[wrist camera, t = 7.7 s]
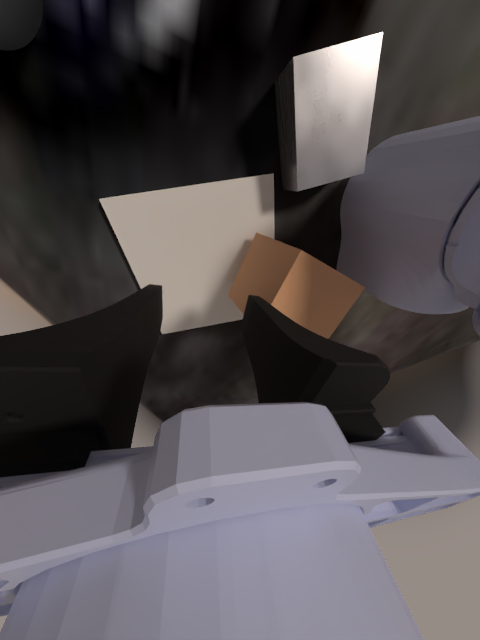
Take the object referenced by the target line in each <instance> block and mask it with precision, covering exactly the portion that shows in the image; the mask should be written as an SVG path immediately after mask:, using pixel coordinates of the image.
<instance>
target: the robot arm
mask: <svg viewBox="0 0 480 640" xmlns="http://www.w3.org/2000/svg"><path fill="white" fill-rule="evenodd" d="M340 222H341V230H342V231H341V245H340V251H339V256H338V261H337V269H336V270H337V271H338V272H340V273H341V274H343V275H345V276H347V277H348V278H350V279H352V280H353V281H355V282H357V283H358V284H360V285H362V286H364V287H365V289H364V290H365V291H367V292H368V293H370V294H371V295H373V296H374V297H375V298H377V299H379V300H380V301H382V302H384V303H386V304H389V305H391V306H394V307H397V308H400V309H404V310H407V311H412V312H417V313H424V314H450V313H456V312H460V311H462V310H465V309H467V308H468V307H472V308H474V309H475V311H474V313H473V319H472V323H473V326H474V329H475V331H476V332H477V334H478V335H479V337H480V116H478V117H473V118H469V119H465V120H460V121H456V122H452V123H447V124H443V125H438V126H434V127H430V128H425V129H421V130H417V131H412V132H408V133H404V134H400V135H396V136H393V137H391V138H389V139H387V140H385V141H383V142H382V143H380V144H379V145H378V146H376V147H375V148H374V149H372V150H371V151H370V152H369V153H368V154H367V155H366V162H365V169H364V173H363V174H360V175H356V176H352V177H350V179H349V181H348V183H347V186H346V188H345V191H344V194H343V198H342V201H341V208H340ZM162 319H163V302H162V285H153V284H149V285H147V286H145V287H144V288H142V289H140V290H139V291H137V292H135V293H134V294H132V295H130V296H129V297H127V298H125V299H123V300H121V301H119V302H117V303H115V304H113V305H111V306H109V307H107V308H105V309H102V310H100V311H97V312H95V313H92V314H89V315H87V316H83V317H80V318H77V319H74V320H71V321H67V322H64V323H60V324H57V325H53V326H49V327H44V328H40V329H36V330H31V331H26V332H21V333H16V334H10V335H4V336H0V616H5V615H8V616H7V618H6V620H5V623H4V625H3V627H2V629H1V632H0V640H424V639H423V637H422V635H421V633H420V631H419V628H418V626H417V624H416V622H415V620H414V618H413V616H412V614H411V612H410V610H409V608H408V606H407V604H406V602H405V600H404V598H403V595H402V593H401V591H400V589H399V587H398V585H397V583H396V581H395V579H394V577H393V575H392V573H391V571H390V569H389V567H388V565H387V562H386V561H385V558H384V556H383V554H382V552H381V550H380V548H379V546H378V544H377V542H376V540H375V538H374V536H373V534H372V532H371V530H370V528H372V527H376V526H380V525H383V524H387V523H391V522H394V521H398V520H402V519H405V518H409V517H413V516H417V515H421V514H425V513H429V512H433V511H437V510H442V509H445V508H448V507H451V506H454V505H456V504H459V503H461V502H464V501H467V500H470V499H472V498H475V497H477V496H480V461H479V460H478V459H477V458H476V457H475V456H474V455H473V454H472V453H471V452H470V451H469V450H468V449H467V448H466V447H465V446H464V445H463V444H462V443H461V442H460V441H459V440H458V439H457V438H456V437H455V436H454V435H453V434H452V433H451V432H450V431H449V430H448V429H447V428H446V427H445V426H444V425H443V424H442V423H441V422H440V421H439V420H438V419H437V418H436V417H435V416H434V415H419V416H412V417H410V418H407V419H406V420H404V421H403V422H402V423H401V424H400V425H399V427H389V428H382V426H381V425H380V424H379V422H378V421H377V420H376V418H375V417H374V416H373V414H372V413H374V412H375V408H374V407H373V405H372V404H371V403H370V402H371V401H372V400H373V399H374V397H376V395H378V393H380V391H381V390H382V389H383V388H384V387H385V386H386V385H387V383H388V381H389V379H390V370H389V368H388V367H387V366H386V365H385V364H384V363H383V362H382V361H381V360H380V359H379V358H378V357H377V356H376V355H373V354H370V353H367V352H363V351H360V350H357V349H353V348H350V347H347V346H345V345H342V344H339V343H337V342H334V341H332V340H329V339H327V338H325V337H322V336H320V335H318V334H316V333H314V332H312V331H310V330H308V329H306V328H305V327H303V326H301V325H299V324H298V323H296V322H294V321H293V320H291V319H290V318H288V317H287V316H285V315H284V314H283V313H281V312H280V311H279V310H277V309H276V308H275V307H273V306H272V305H271V304H269V303H268V302H267V301H266V300H264V299H263V298H261V297H260V296H254V295H248V299H247V303H246V307H245V311H244V315H243V319H242V331H243V337H244V341H245V344H246V348H247V351H248V354H249V358H250V361H251V364H252V368H253V372H254V376H255V382H256V387H257V394H258V400H259V404H231V405H207V406H202V407H196V408H191V409H185V410H183V411H181V412H180V413H178V414H176V415H174V416H172V417H171V418H169V419H167V420H166V421H164V422H163V423H162V424H161V426H160V428H159V430H158V432H157V434H156V437H155V441H154V446H152V447H140V448H131V443H132V438H133V432H134V427H135V422H136V417H137V412H138V407H139V403H140V398H141V393H142V389H143V384H144V380H145V376H146V372H147V368H148V365H149V362H150V359H151V357H152V354H153V351H154V348H155V345H156V342H157V340H158V337H159V334H160V330H161V325H162Z"/></svg>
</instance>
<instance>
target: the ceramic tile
mask: <svg viewBox="0 0 480 640" xmlns="http://www.w3.org/2000/svg"><path fill="white" fill-rule="evenodd" d="M99 200H100V202H101V204H102V207H103V209H104V211H105V213H106V215H107V217H108V219H109V222H110V224H111V226H112V228H113V230H114V232H115V234H116V236H117V239H118V241H119V243H120V245H121V247H122V249H123V251H124V254H125V256H126V258H127V260H128V262H129V264H130V266H131V269H132V271H133V273H134V275H135V277H136V279H137V281H138V284H139V286H140V288H141V289H142V288H144V287H145V286H147V285H149V284H153V285H162V302H163V319H162V325H161V330H160V331H161V333H162V334H167V333H172V332H177V331H183V330H188V329H193V328H199V327H204V326H210V325H215V324H220V323H226V322H231V321H236V320H242V319H243V315H244V314H243V313H242V312H241V310H240V309H239V308H238V307H237V306H236V304H235V303H234V302H233V301H232V299H231V298H230V297H229V296H228V294H229V291H230V289H231V287H232V285H233V283H234V281H235V278H236V276H237V274H238V272H239V270H240V267H241V265H242V263H243V261H244V259H245V256H246V254H247V252H248V250H249V248H250V245H251V243H252V241H253V239H254V237H255V234H256V232H257V233H259V234H262V235H264V236H267V237H270V238H272V239H274V173H273V174H265V175H258V176H252V177H245V178H238V179H231V180H224V181H217V182H210V183H204V184H197V185H190V186H183V187H176V188H169V189H163V190H156V191H149V192H142V193H135V194H128V195H121V196H115V197H108V198H101V199H99Z"/></svg>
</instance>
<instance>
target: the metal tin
mask: <svg viewBox="0 0 480 640" xmlns="http://www.w3.org/2000/svg"><path fill="white" fill-rule="evenodd" d="M382 37H383V32H380V33H377V34H373V35H370V36H366V37H363V38H359V39H356V40H352V41H348V42H345V43H341V44H338V45H334V46H331V47H327V48H324V49H320V50H317V51H313V52H309V53H306V54H302V55H299V56H295V57H293V58H292V60H291V61H290V62H289V64H288V65H287V66H286V68H285V69H284V70H283V72H282V73H281V75H280V76H279V77H278V79H277V80H276V81H275V96H276V109H277V123H278V137H279V151H280V164H281V178H282V189H283V190H290V191H297V192H298V191H302V190H305V189H309V188H313V187H316V186H320V185H323V184H327V183H331V182H334V181H338V180H342V179H345V178H349V177H352V176H356V175H360V174H363V173H364V169H365V162H366V154H367V147H368V140H369V132H370V125H371V118H372V110H373V103H374V96H375V88H376V81H377V74H378V66H379V59H380V51H381V44H382Z"/></svg>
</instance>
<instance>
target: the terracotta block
mask: <svg viewBox="0 0 480 640" xmlns="http://www.w3.org/2000/svg"><path fill="white" fill-rule="evenodd" d="M364 289H365V287H364V286H362V285H360V284H358V283H357V282H355V281H353V280H352V279H350V278H348V277H347V276H345V275H343V274H341V273H340V272H338V271H336V270H335V269H333V268H331V267H330V266H328V265H326V264H324V263H323V262H321V261H319V260H318V259H316V258H314V257H313V256H311V255H309V254H307V253H306V252H304V251H302V250H300V249H298V248H295V247H293V246H290V245H287V244H285V243H282V242H280V241H277V240H275V239H272V238H270V237H267V236H264V235H262V234H259V233H257V232H256V234H255V237H254V239H253V241H252V243H251V245H250V248H249V250H248V252H247V254H246V256H245V259H244V261H243V263H242V265H241V267H240V270H239V272H238V274H237V276H236V278H235V281H234V283H233V285H232V287H231V289H230V291H229V294H228V296H229V297H230V298H231V299H232V301H233V302H234V303H235V304H236V306H237V307H238V308H239V309H240V310H241V312H242V313H243V314H244V311H245V307H246V303H247V299H248V295H254V296H260V297H261V298H263V299H264V300H266V301H267V302H268V303H269V304H271V305H272V306H273V307H275V308H276V309H277V310H279V311H280V312H281V313H283V314H284V315H285V316H287V317H288V318H290V319H291V320H293V321H294V322H296V323H298V324H299V325H301V326H303V327H305V328H306V329H308V330H310V331H312V332H314V333H316V334H318V335H320V336H322V337H325V338H327V339H328V338H329V337H330V336H331V334H332V333H333V332H334V330H335V329H336V327H337V326H338V325H339V323H340V322H341V321H342V319H343V318H344V316H345V315H346V314H347V312H348V311H349V310H350V308H351V307H352V305H353V304H354V303H355V301H356V300H357V299H358V297H359V296H360V294H361V293H362V292H363V290H364Z"/></svg>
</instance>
